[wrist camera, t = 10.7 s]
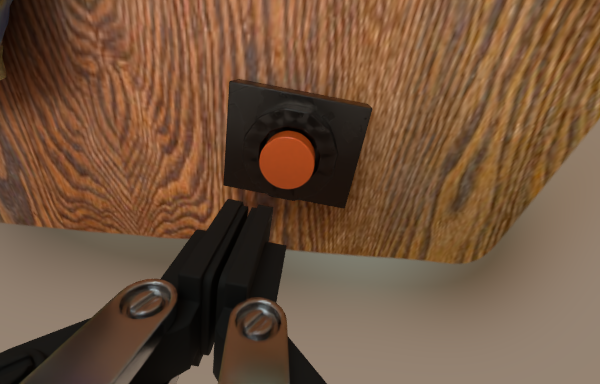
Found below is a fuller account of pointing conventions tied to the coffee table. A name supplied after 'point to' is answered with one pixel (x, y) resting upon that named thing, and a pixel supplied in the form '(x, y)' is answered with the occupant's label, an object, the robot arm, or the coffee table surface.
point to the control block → (300, 118)
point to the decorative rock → (0, 17)
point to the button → (287, 160)
